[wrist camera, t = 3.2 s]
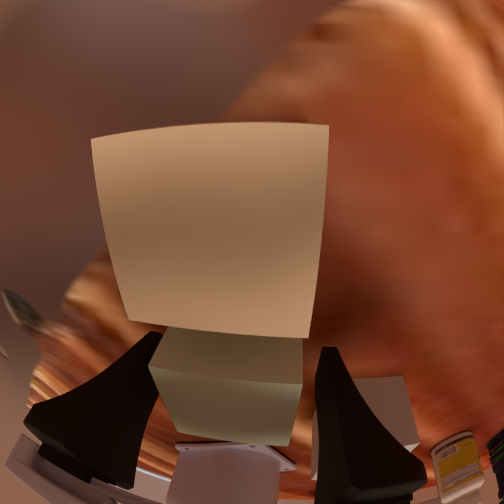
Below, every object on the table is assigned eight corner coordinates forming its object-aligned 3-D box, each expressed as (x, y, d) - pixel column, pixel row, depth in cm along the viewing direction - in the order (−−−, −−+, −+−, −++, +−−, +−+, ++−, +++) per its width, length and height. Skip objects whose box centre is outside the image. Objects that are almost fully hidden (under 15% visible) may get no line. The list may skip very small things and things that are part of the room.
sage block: (292, 365, 14) (288, 446, 10) (202, 357, 15) (177, 431, 11) (301, 291, 12) (302, 384, 8) (190, 284, 13) (147, 365, 8)
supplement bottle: (459, 445, 20) (471, 508, 11) (423, 456, 21) (432, 524, 12) (479, 424, 18) (497, 493, 9) (442, 437, 18) (456, 514, 10)
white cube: (377, 415, 16) (385, 473, 12) (311, 418, 17) (311, 480, 13) (402, 374, 14) (419, 442, 10) (324, 377, 15) (328, 454, 10)
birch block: (302, 250, 11) (308, 338, 7) (182, 244, 12) (128, 319, 7) (308, 122, 9) (329, 125, 5) (172, 125, 10) (90, 139, 5)
